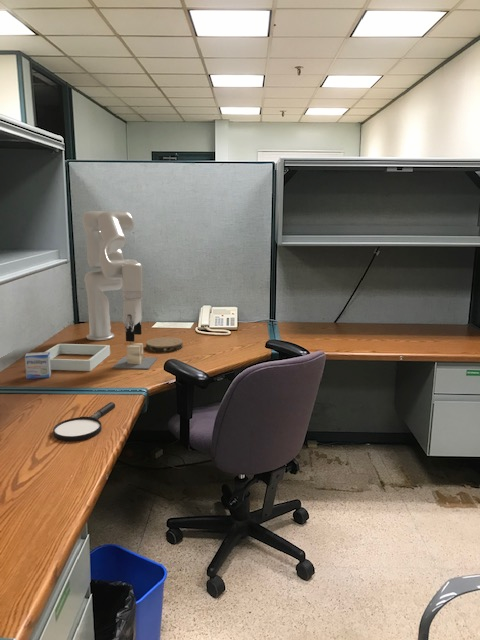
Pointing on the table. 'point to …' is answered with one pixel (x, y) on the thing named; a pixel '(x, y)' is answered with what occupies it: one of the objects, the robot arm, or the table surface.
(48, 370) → the medicine box
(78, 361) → the white shallow tray
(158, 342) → the tambourine
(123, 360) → the mat
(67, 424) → the magnifying glass
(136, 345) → the maple block
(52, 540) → the table surface
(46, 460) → the table surface
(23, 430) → the table surface
